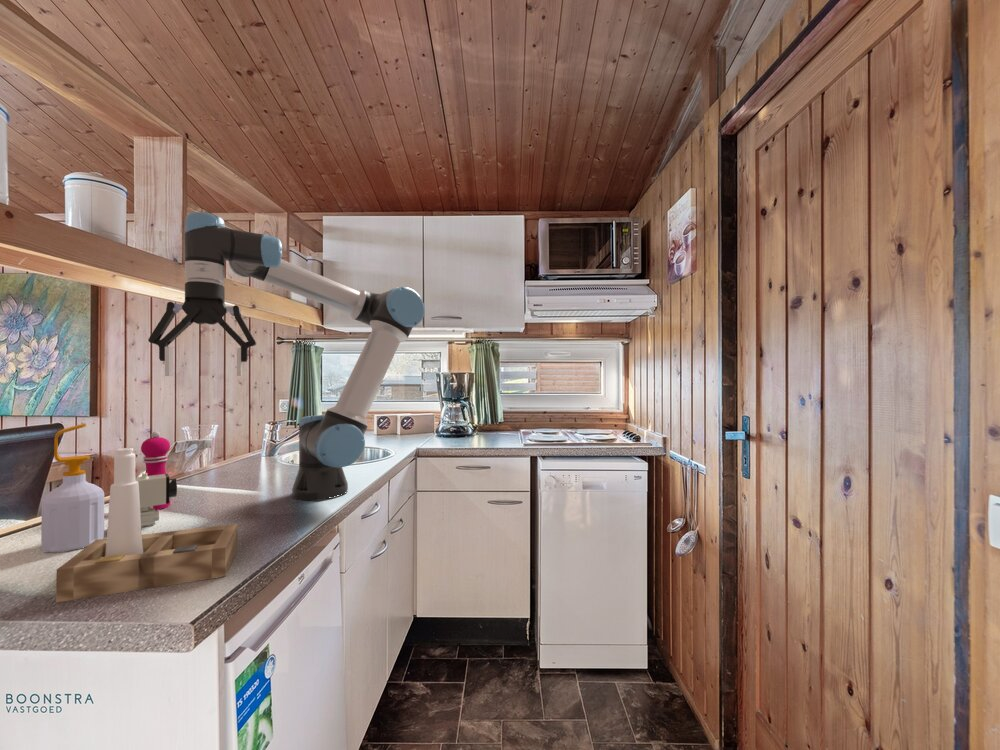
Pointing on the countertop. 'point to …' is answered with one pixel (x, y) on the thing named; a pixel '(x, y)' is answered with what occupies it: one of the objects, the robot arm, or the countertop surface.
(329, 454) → the robot arm
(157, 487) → the pneumatic valve
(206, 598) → the countertop surface
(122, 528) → the cosmetic bottle
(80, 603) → the countertop surface
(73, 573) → the wooden compartment tray
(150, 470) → the pepper mill
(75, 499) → the soap bottle
